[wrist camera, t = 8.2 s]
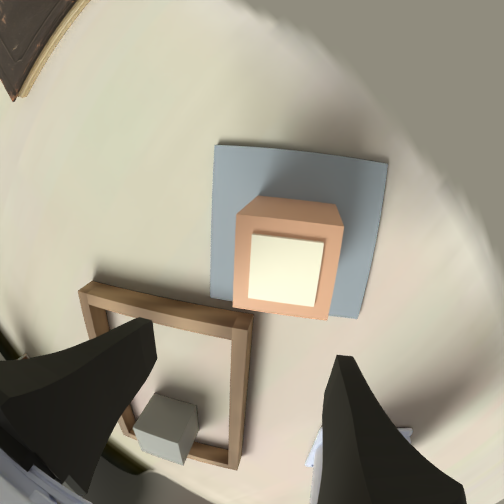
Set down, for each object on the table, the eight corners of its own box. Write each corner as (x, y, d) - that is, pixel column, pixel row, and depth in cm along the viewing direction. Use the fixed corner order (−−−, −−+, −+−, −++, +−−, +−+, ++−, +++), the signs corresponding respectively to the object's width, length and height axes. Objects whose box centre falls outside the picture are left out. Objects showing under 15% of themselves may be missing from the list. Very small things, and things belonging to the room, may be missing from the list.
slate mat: (386, 163, 15) (388, 164, 15) (356, 315, 19) (357, 318, 18) (216, 144, 17) (214, 144, 16) (212, 294, 20) (210, 297, 20)
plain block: (196, 405, 25) (178, 443, 21) (199, 429, 27) (183, 465, 22) (154, 392, 26) (132, 427, 21) (160, 418, 28) (141, 450, 23)
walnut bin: (253, 314, 20) (247, 330, 18) (241, 456, 27) (237, 470, 26) (92, 280, 23) (77, 290, 21) (130, 423, 30) (123, 434, 28)
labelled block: (335, 204, 16) (344, 227, 12) (325, 276, 18) (327, 322, 13) (257, 195, 17) (234, 215, 12) (253, 267, 19) (231, 309, 14)
